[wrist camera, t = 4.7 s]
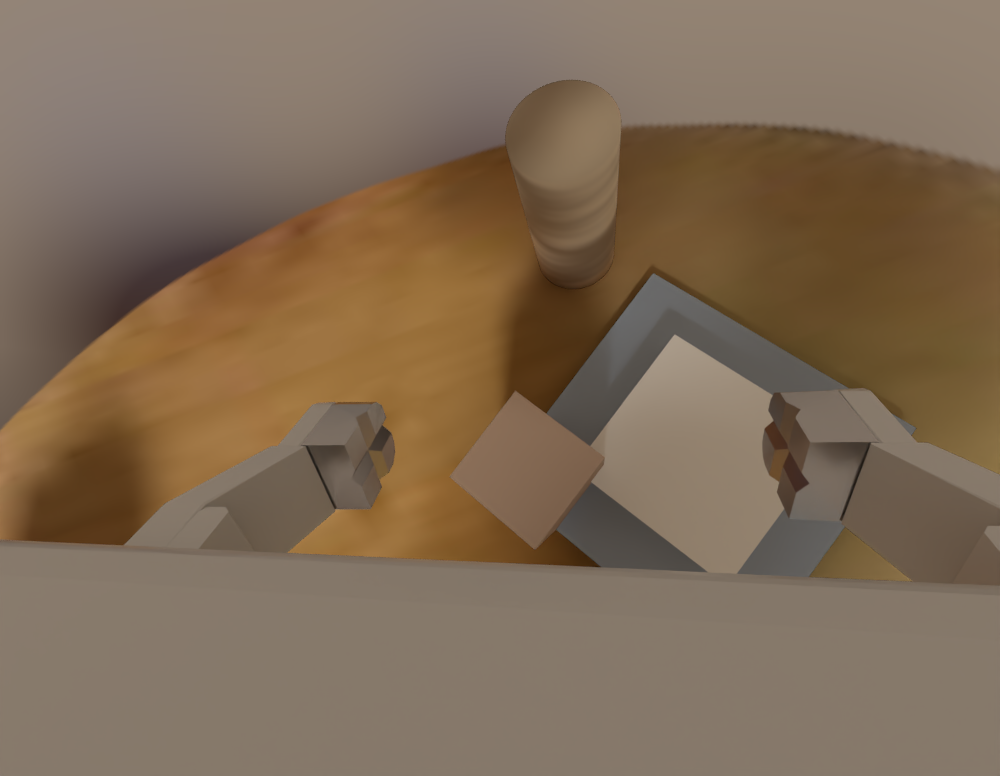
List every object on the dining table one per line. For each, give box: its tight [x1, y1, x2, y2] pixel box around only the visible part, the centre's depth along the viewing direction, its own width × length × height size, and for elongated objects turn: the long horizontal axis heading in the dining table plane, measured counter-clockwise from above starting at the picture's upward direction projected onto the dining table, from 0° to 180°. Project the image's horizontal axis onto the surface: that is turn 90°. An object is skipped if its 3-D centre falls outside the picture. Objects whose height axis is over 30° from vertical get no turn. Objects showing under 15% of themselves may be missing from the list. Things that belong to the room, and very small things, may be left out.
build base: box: [450, 273, 916, 577], centre depth 20 cm, size 14×14×9 cm
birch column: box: [505, 80, 621, 289], centre depth 23 cm, size 4×4×10 cm
